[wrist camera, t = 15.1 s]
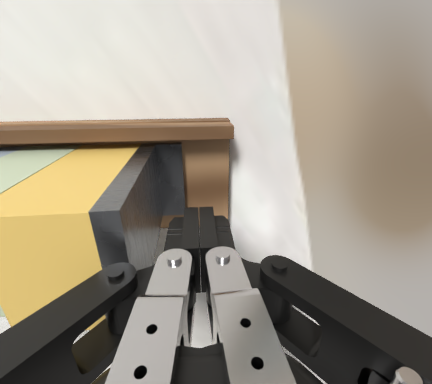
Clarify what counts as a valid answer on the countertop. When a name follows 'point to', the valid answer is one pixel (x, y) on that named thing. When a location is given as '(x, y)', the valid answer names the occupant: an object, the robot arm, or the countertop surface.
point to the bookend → (139, 205)
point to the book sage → (28, 165)
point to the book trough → (147, 133)
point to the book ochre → (53, 228)
